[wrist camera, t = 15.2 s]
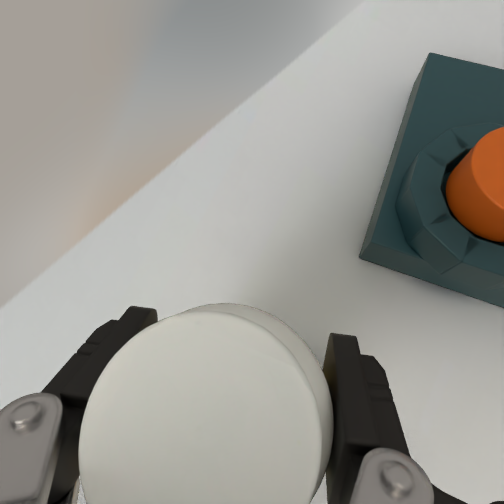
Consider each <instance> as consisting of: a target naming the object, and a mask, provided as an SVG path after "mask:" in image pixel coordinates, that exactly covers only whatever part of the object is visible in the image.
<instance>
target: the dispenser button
mask: <svg viewBox="0 0 504 504" xmlns="http://www.w3.org/2000/svg"><path fill="white" fill-rule="evenodd" d="M446 198H447V202H448V205H449V207H450V210H451V211H452V213H453V215H454V216H455V217H456V219H457V220H458V221H459V222H460V223H461V224H462V225H463V226H464V227H465V228H467V229H468V230H469V231H471V232H473V233H474V234H476V235H478V236H480V237H482V238H485V239H488V240H491V241H496V242H504V127H501V128H498V129H495V130H493V131H491V132H489V133H488V134H486V135H485V136H483V137H482V138H481V139H480V140H479V141H478V142H477V143H476V145H475V146H474V147H473V148H472V149H471V150H470V151H469V153H468V154H467V155H466V156H465V157H464V158H463V159H462V160H461V162H460V163H459V164H458V165H457V166H456V167H455V168H454V170H453V171H452V172H451V174H450V176H449V177H448V180H447V184H446Z"/></svg>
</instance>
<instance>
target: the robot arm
mask: <svg viewBox="0 0 504 504" xmlns="http://www.w3.org/2000/svg"><path fill="white" fill-rule="evenodd" d="M156 322H158V318H157V311H156V310H155V309H152V308H144V307H137V306H130V307H129V308H128V309H127V310H126V312H125V313H124V314H123V315H122V317H121V318H120V319H119V320H110V321H109V322H107V323H105V324H104V325H102V326H100V327H99V328H97V329H96V330H95V331H94V332H93V333H92V334H91V336H90V337H89V338H88V339H87V340H86V343H84V344H83V345H82V346H81V347H80V348H79V349H78V350H77V353H75V354H74V355H73V356H72V357H71V358H70V360H69V361H68V362H67V363H66V364H65V365H64V366H63V368H62V369H61V370H60V371H59V372H58V373H57V374H56V376H55V377H54V378H53V379H52V380H51V381H50V382H49V384H48V385H47V386H46V387H45V388H44V389H43V390H42V392H41V393H34V394H30V395H26V396H23V397H21V398H19V399H17V400H15V401H13V402H11V403H10V404H8V405H7V406H5V407H4V408H3V409H2V410H1V411H0V504H77V499H78V493H79V488H80V478H79V476H80V472H79V458H78V452H79V438H80V431H81V424H82V420H83V416H84V412H85V409H86V406H87V403H88V400H89V397H90V395H91V393H92V391H93V388H94V386H95V384H96V382H97V380H98V378H99V377H100V375H101V373H102V372H103V370H104V369H105V367H106V366H107V364H108V363H109V361H110V360H111V359H112V358H113V356H114V355H115V354H116V353H117V352H118V351H119V350H120V349H121V348H122V347H123V346H124V345H125V344H126V343H127V342H128V341H129V340H130V339H131V338H133V337H134V336H135V335H136V334H138V333H139V332H140V331H142V330H144V329H145V328H147V327H148V326H150V325H152V324H154V323H156ZM322 371H323V373H324V376H325V379H326V381H327V384H328V388H329V392H330V396H331V401H332V407H333V420H334V430H333V442H332V448H331V454H330V458H329V462H328V465H327V468H326V485H327V501H328V504H467V503H465V502H463V501H461V500H459V499H457V498H455V497H453V496H451V495H449V494H447V493H445V492H443V491H441V490H440V489H438V488H437V487H436V486H434V485H433V484H432V483H431V482H430V480H429V478H428V476H427V475H426V473H425V472H424V470H423V469H422V468H421V467H420V466H419V465H418V464H417V463H416V462H415V461H414V460H413V459H411V456H410V454H409V451H408V447H407V444H406V441H405V437H404V434H403V430H402V427H401V424H400V420H399V417H398V414H397V410H396V407H395V404H394V402H393V397H392V393H391V390H390V388H389V383H388V380H387V377H386V373H385V370H384V369H383V368H382V366H381V365H380V364H379V363H378V361H377V360H376V359H375V358H374V356H368V355H361V354H360V350H359V345H358V341H357V337H356V336H351V335H343V334H336V333H330V336H329V340H328V345H327V350H326V355H325V360H324V365H323V370H322ZM490 504H504V501H496V502H492V503H490Z"/></svg>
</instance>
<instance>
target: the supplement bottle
mask: <svg viewBox="0 0 504 504" xmlns="http://www.w3.org/2000/svg"><path fill="white" fill-rule="evenodd" d="M333 430H334V420H333V407H332V401H331V396H330V392H329V388H328V384H327V381H326V379H325V376H324V373H323V371H322V369H321V367H320V365H319V363H318V361H317V359H316V358H315V356H314V354H313V353H312V351H311V350H310V349H309V347H308V346H307V344H306V343H305V342H304V341H303V340H302V339H301V337H300V336H299V335H298V334H297V333H296V332H294V331H293V330H292V329H291V328H290V327H289V326H287V325H286V324H285V323H284V322H282V321H281V320H279V319H277V318H276V317H274V316H272V315H270V314H268V313H266V312H264V311H261V310H259V309H256V308H253V307H249V306H245V305H239V304H230V303H220V304H209V305H204V306H199V307H196V308H192V309H189V310H187V311H184V312H182V313H180V314H177V315H174V316H171V317H168V318H165V319H162V320H160V321H158V322H156V323H154V324H152V325H150V326H148V327H147V328H145V329H144V330H142V331H140V332H139V333H138V334H136V335H135V336H134V337H133V338H131V339H130V340H129V341H128V342H127V343H126V344H125V345H124V346H123V347H122V348H121V349H120V350H119V351H118V352H117V353H116V354H115V355H114V356H113V358H112V359H111V360H110V361H109V363H108V364H107V366H106V367H105V369H104V370H103V372H102V373H101V375H100V377H99V378H98V380H97V382H96V384H95V386H94V388H93V391H92V393H91V395H90V397H89V400H88V403H87V406H86V409H85V412H84V416H83V420H82V424H81V431H80V438H79V452H78V458H79V472H80V480H81V484H82V488H83V493H84V497H85V500H86V503H87V504H309V503H310V502H311V500H312V499H313V497H314V495H315V494H316V492H317V490H318V488H319V486H320V484H321V482H322V479H323V477H324V475H325V471H326V468H327V465H328V462H329V458H330V454H331V448H332V442H333Z"/></svg>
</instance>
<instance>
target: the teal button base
mask: <svg viewBox="0 0 504 504" xmlns="http://www.w3.org/2000/svg"><path fill="white" fill-rule="evenodd" d="M501 127H504V70H503V69H499V68H494V67H490V66H486V65H482V64H477V63H473V62H469V61H465V60H460V59H456V58H452V57H448V56H443V55H439V54H435V53H429V54H428V56H427V58H426V60H425V62H424V65H423V67H422V69H421V71H420V73H419V75H418V77H417V79H416V81H415V83H414V85H413V89H412V92H411V95H410V98H409V101H408V104H407V108H406V111H405V114H404V117H403V120H402V123H401V126H400V130H399V133H398V136H397V139H396V142H395V145H394V149H393V152H392V155H391V158H390V161H389V164H388V167H387V171H386V174H385V177H384V180H383V183H382V186H381V190H380V193H379V196H378V199H377V202H376V205H375V208H374V212H373V215H372V218H371V221H370V224H369V227H368V230H367V234H366V237H365V240H364V243H363V246H362V249H361V253H360V256H359V258H361V259H364V260H367V261H370V262H373V263H376V264H379V265H382V266H384V267H387V268H390V269H393V270H396V271H399V272H402V273H405V274H408V275H410V276H413V277H416V278H419V279H422V280H425V281H428V282H431V283H433V284H436V285H439V286H442V287H445V288H448V289H451V290H454V291H457V292H459V293H462V294H465V295H468V296H471V297H474V298H477V299H480V300H483V301H485V302H488V303H491V304H494V305H497V306H500V307H503V308H504V242H496V241H491V240H488V239H485V238H482V237H480V236H478V235H476V234H474V233H473V232H471V231H469V230H468V229H467V228H465V227H464V226H463V225H462V224H461V223H460V222H459V221H458V220H457V219H456V217H455V216H454V215H453V213H452V211H451V210H450V207H449V205H448V202H447V198H446V184H447V180H448V177H449V176H450V174H451V172H452V171H453V170H454V168H455V167H456V166H457V165H458V164H459V163H460V162H461V160H462V159H463V158H464V157H465V156H466V155H467V154H468V153H469V151H470V150H471V149H472V148H473V147H474V146H475V145H476V143H477V142H478V141H479V140H480V139H481V138H482V137H483V136H485V135H486V134H488V133H489V132H491V131H493V130H495V129H498V128H501Z"/></svg>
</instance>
